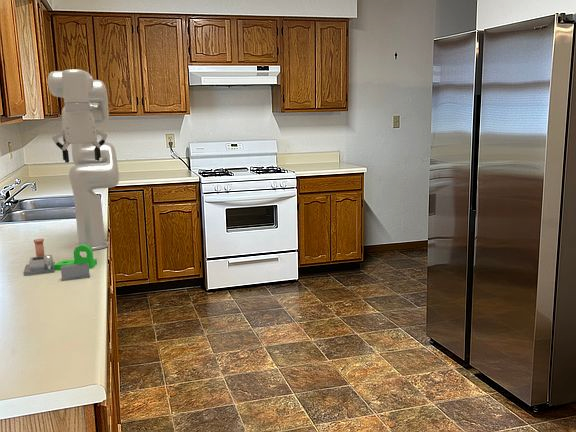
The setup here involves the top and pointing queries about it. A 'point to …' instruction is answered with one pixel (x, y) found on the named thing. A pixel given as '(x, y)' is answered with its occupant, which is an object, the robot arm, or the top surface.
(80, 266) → the block
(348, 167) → the top surface
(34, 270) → the metal square socket base
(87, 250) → the mechanical part
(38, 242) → the peach peg
